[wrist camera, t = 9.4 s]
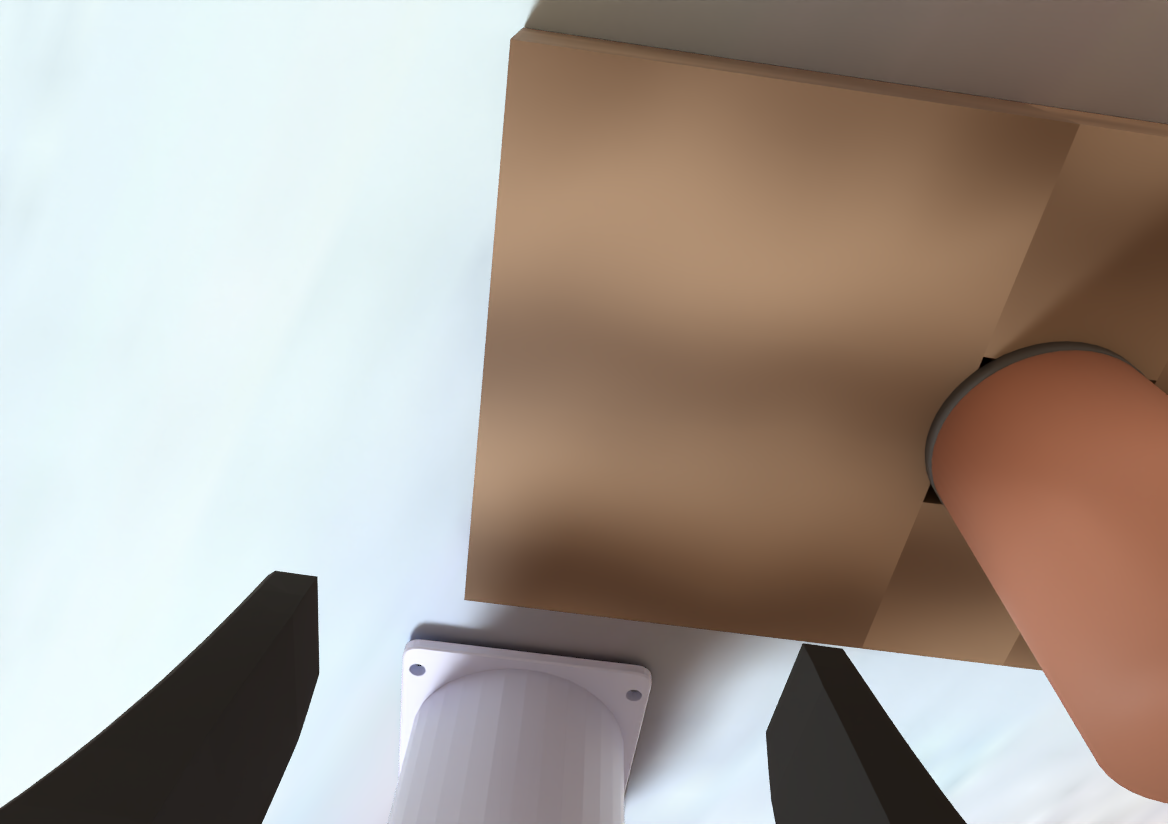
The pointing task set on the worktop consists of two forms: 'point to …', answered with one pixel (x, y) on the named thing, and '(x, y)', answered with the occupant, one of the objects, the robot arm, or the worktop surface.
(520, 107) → the board
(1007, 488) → the peg
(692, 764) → the worktop surface
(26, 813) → the robot arm
